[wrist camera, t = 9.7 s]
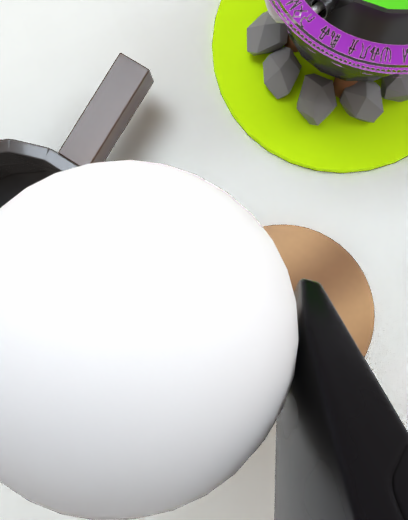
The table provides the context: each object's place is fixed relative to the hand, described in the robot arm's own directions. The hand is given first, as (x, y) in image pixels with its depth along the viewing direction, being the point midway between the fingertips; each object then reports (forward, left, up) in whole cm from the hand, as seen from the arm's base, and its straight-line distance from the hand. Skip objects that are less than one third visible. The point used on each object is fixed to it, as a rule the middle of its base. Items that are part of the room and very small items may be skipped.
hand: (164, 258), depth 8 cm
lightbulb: (0, +1, -7) cm, 7 cm away
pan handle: (+8, -4, -11) cm, 14 cm away
